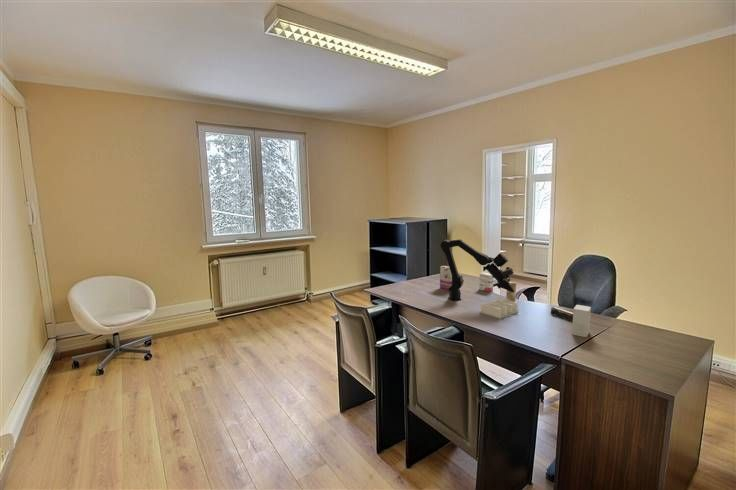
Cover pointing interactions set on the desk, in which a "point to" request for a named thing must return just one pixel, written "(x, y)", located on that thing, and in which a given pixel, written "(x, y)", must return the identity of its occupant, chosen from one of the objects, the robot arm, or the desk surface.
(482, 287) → the ink box
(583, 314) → the small box
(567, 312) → the brown flat box
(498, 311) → the rack
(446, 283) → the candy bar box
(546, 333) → the desk surface
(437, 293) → the desk surface
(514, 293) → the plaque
